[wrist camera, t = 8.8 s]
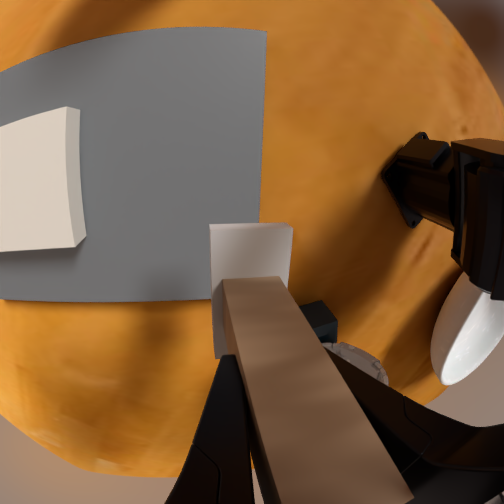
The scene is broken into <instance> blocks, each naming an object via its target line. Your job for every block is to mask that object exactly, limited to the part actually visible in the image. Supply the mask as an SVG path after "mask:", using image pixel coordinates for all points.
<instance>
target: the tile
mask: <svg viewBox="0 0 504 504" xmlns="http://www.w3.org/2000/svg"><path fill="white" fill-rule="evenodd" d="M79 129H80V110H79V109H75V108H71V107H67V106H66V107H62V108H58V109H54V110H50V111H47V112H43V113H40V114H36V115H33V116H30V117H27V118H24V119H21V120H18V121H15V122H12V123H9V124H7V125H4V126H1V127H0V252H5V251H20V250H35V249H51V248H68V247H76V246H77V245H78V244H79V243H80V242H81V241H82V240H83V239H84V238H85V237H86V236H87V235H86V228H85V221H84V213H83V203H82V193H81V179H80V155H79Z"/></svg>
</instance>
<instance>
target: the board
mask: <svg viewBox="0 0 504 504" xmlns="http://www.w3.org/2000/svg"><path fill="white" fill-rule="evenodd" d="M266 39H267V31H260V30H251V29H240V28H224V27H177V28H161V29H150V30H142V31H134V32H127V33H121V34H115V35H110V36H105V37H100V38H96V39H91V40H87V41H83V42H79V43H76V44H72V45H69V46H65V47H62V48H59V49H56V50H53V51H50V52H47V53H44V54H42V55H39V56H36V57H34V58H31V59H29V60H26V61H24V62H22V63H19V64H17V65H15V66H13V67H11V68H8V69H6V70H4V71H2V72H0V127H1V126H4V125H7V124H9V123H12V122H15V121H18V120H21V119H24V118H27V117H30V116H33V115H36V114H40V113H43V112H47V111H50V110H54V109H58V108H62V107H66V106H67V107H71V108H75V109H79V110H80V129H79V155H80V179H81V193H82V203H83V213H84V221H85V228H86V235H87V236H86V237H85V238H84V239H83V240H82V241H81V242H80V243H79V244H78V245H77V246H76V247H68V248H51V249H35V250H20V251H5V252H0V299H6V300H26V301H55V302H142V301H175V300H198V299H211V278H210V237H209V224H237V223H259V207H260V185H261V163H262V140H263V116H264V92H265V66H266Z"/></svg>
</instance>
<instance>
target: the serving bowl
mask: <svg viewBox="0 0 504 504" xmlns="http://www.w3.org/2000/svg"><path fill="white" fill-rule="evenodd" d="M490 295H491V294H488V293H485V292H483V291H482V290H480V289H479V288H478V287H476V286H475V285H473V284H472V283H471V282H470V281H469V277H468V276H467V274H466V273H465V272H463V273H462V274H461V276H460V277H459V279H458V280H457V281H456V283H455V285H454V286H453V288H452V290H451V291H450V293H449V295H448V297H447V298H446V300H445V302H444V304H443V306H442V308H441V311H440V313H439V315H438V318H437V320H436V323H435V326H434V330H433V334H432V339H431V349H430V353H431V362H432V366H433V369H434V371H435V373H436V375H437V377H438V379H439V380H440V382H441V383H442V384H443V385H451V384H454V383H456V382H458V381H460V380H462V379H463V378H465V377H466V376H467V375H468V374H470V373H471V372H472V371H474V370H475V369H476V368H477V367H478V366H479V365H480V364H481V363H482V362H483V361H484V360H485V359H486V357H487V356H488V355H489V354H490V352H491V351H492V350H493V349H494V348H495V346H496V345H497V344H498V342H499V341H500V339H501V338H502V336H503V335H504V301H497V300H491V299H490Z"/></svg>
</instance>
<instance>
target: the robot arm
mask: <svg viewBox="0 0 504 504" xmlns="http://www.w3.org/2000/svg"><path fill="white" fill-rule="evenodd" d="M422 136H423V139H422ZM387 173H388V177H387ZM381 177H382V179H383V181H384V182H385V184H386V186H387V188H388V189H389V191H390V193H391V195H392V197H393V198H394V200H395V202H396V204H397V206H398V208H399V210H400V212H401V213H402V215H403V217H404V219H405V221H406V223H407V225H408V227H410V228H412V229H413V228H415V227H416V226H417V225H418V224H419V222H420V221H421V220H422V219H423V218H425V219H427V220H429V221H431V222H434V223H436V224H438V225H440V226H442V227H444V228H447V229H449V230H451V231H453V232H454V236H453V248H452V249H451V257H452V258H453V259H454V260H455V262H456V263H457V264H458V265H459V266H460V267H461V268H462V270H463V271H464V272H465V273H466V274H467V276H468V277H469V281H470V282H471V283H472V284H473V285H475V286H476V287H478V288H479V289H480V290H482V291H483V292H485V293H488V294H491V295H490V299H491V300H497V301H504V141H499V140H492V139H484V138H476V139H466V140H457V141H451V146H449V144H448V143H447V142H444V141H436V140H429V138H428V136H427V134H426V133H425V132H419V133H418V134H417V135H416V136H415V137H414V138H411V139H410V141H409V142H408V143H407V144H406V145H405V146H404V147H403V148H402V149H401V150H400V151H399V152H398V153H397V155H396V157H395V158H394V159H393V160H392V161H391V162H390V163H389V164H388V165H387V166H386V167H385V168H384V169H383V171H382V173H381ZM412 222H413V223H412ZM323 347H324V346H323ZM324 349H325V350H326V352H327V353H328V355H329V357H330V358H331V360H332V361H333V363H334V365H335V366H336V368H337V370H338V371H339V373H340V374H341V376H342V378H343V379H344V381H345V383H346V384H347V386H348V388H349V389H350V391H351V392H352V394H353V396H354V397H355V399H356V401H357V402H358V404H359V406H360V407H361V409H362V410H363V412H364V414H365V415H366V417H367V419H368V420H369V422H370V424H371V425H372V427H373V429H374V430H375V432H376V434H377V435H378V437H379V439H380V440H381V442H382V444H383V445H384V447H385V449H386V450H387V452H388V454H389V455H390V457H391V459H392V460H393V462H394V464H395V465H396V467H397V469H398V471H399V472H400V474H401V476H402V477H403V479H404V481H405V482H406V484H407V486H408V487H409V489H410V491H411V493H412V494H413V496H414V498H413V499H412V500H410V501H408V502H407V503H405V504H504V424H499V425H494V426H488V427H475V426H470V425H467V424H464V423H462V422H459V421H456V420H454V419H452V418H449V417H447V416H444V415H441V414H439V413H437V412H435V411H433V410H431V409H428V408H426V407H424V406H422V405H421V404H419V403H417V402H415V401H413V400H411V399H410V398H408V397H406V396H403V395H402V394H401V393H399V392H397V391H396V390H394V389H392V388H391V387H389V386H387V385H386V384H384V383H382V382H381V381H379V380H377V379H376V378H374V377H372V376H371V375H369V374H367V373H366V372H364V371H362V370H361V369H359V368H357V367H356V366H354V365H353V364H351V363H349V362H348V361H346V360H345V359H343V358H341V357H340V356H338V355H337V354H335V353H333V352H332V351H330V350H329V349H327V348H326V347H324ZM165 504H255V499H254V489H253V479H252V468H251V457H250V446H249V435H248V423H247V410H246V398H245V387H244V383H243V380H242V376H241V373H240V369H239V366H238V362H237V359H236V355H235V354H228V355H222V356H221V359H220V362H219V365H218V368H217V371H216V374H215V377H214V380H213V383H212V386H211V389H210V391H209V394H208V397H207V400H206V403H205V406H204V409H203V412H202V415H201V418H200V421H199V424H198V427H197V430H196V433H195V436H194V439H193V442H192V445H191V447H190V450H189V453H188V456H187V458H186V461H185V463H184V466H183V468H182V471H181V473H180V475H179V477H178V479H177V481H176V483H175V485H174V487H173V489H172V491H171V493H170V495H169V496H168V498H167V500H166V502H165Z"/></svg>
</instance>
